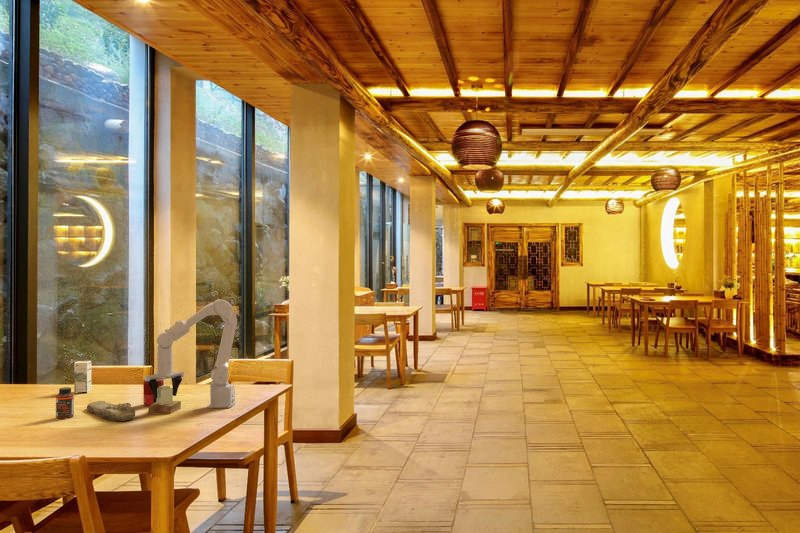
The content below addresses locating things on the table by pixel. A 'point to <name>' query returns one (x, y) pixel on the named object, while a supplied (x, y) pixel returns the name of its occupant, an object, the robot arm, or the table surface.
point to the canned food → (150, 392)
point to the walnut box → (164, 408)
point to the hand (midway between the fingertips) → (164, 397)
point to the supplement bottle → (64, 403)
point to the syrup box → (82, 376)
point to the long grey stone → (112, 410)
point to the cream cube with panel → (164, 395)
